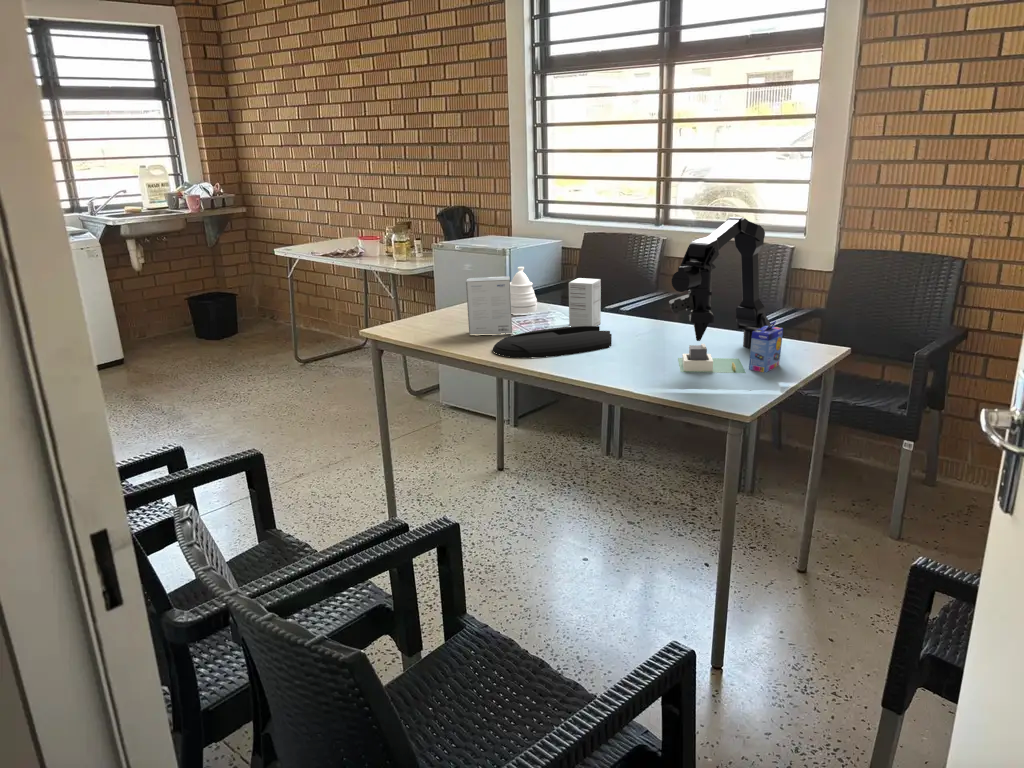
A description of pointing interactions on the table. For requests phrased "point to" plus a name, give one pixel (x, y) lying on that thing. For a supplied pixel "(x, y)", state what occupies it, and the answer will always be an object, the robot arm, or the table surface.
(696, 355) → the plug
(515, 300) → the honey pot
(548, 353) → the docking station
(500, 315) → the hard drive box
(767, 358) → the ink cartridge box
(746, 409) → the table surface
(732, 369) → the board
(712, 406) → the table surface
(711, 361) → the frame
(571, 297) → the supplement box
